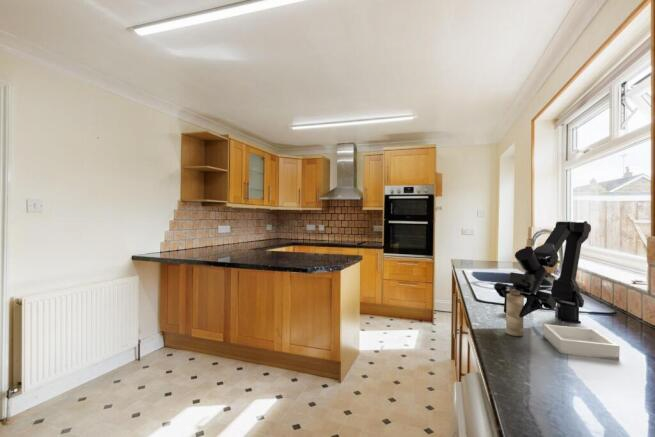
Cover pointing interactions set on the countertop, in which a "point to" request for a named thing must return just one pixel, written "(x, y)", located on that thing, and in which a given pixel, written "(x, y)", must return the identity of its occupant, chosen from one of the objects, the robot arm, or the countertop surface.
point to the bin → (581, 342)
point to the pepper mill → (514, 313)
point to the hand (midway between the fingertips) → (512, 314)
